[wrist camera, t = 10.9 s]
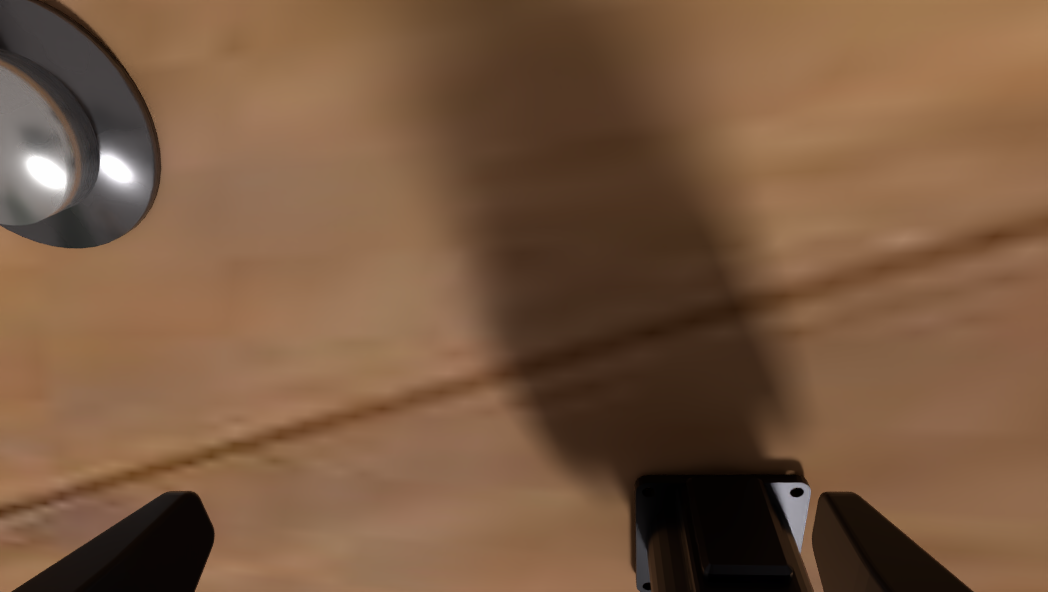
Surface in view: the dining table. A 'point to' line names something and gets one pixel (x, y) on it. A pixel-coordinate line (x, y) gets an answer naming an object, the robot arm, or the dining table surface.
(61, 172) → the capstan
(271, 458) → the dining table surface
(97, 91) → the foot base
